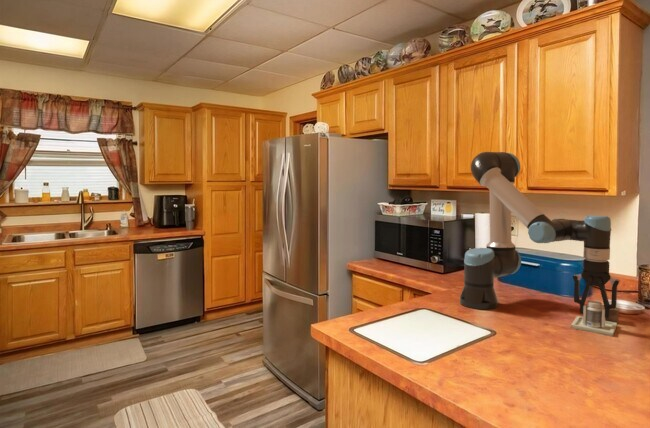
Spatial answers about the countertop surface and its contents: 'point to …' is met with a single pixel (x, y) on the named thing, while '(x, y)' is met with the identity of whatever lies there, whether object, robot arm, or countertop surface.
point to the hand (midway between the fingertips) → (593, 324)
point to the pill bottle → (594, 314)
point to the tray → (607, 330)
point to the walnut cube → (612, 315)
